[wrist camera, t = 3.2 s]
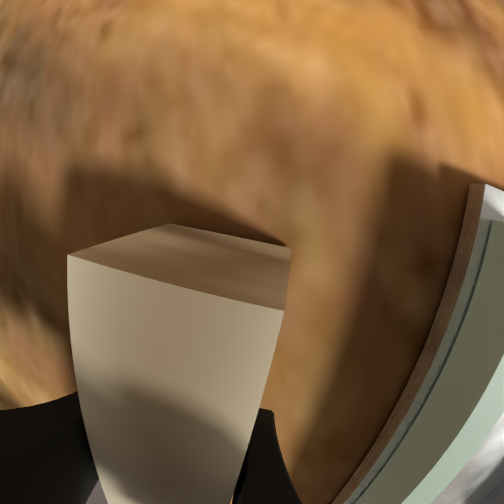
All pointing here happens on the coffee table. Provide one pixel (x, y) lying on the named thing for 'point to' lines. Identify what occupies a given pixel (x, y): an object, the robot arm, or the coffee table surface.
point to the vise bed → (432, 363)
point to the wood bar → (173, 357)
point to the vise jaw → (454, 398)
